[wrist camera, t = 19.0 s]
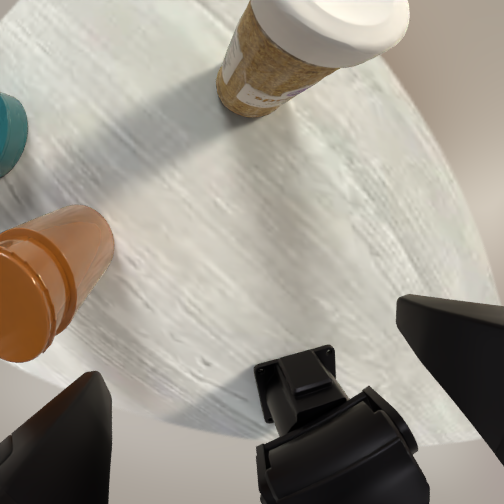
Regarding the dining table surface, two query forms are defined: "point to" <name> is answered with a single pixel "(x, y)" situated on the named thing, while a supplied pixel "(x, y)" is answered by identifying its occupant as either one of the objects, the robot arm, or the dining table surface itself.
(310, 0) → the sprinkles bottle
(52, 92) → the dining table surface
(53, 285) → the jar
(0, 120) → the lid
